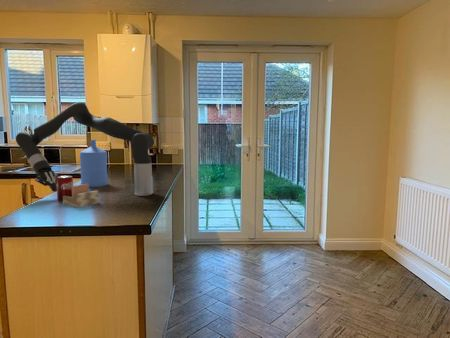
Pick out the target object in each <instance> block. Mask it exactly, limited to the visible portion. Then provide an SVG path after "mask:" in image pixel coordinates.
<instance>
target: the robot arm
mask: <svg viewBox="0 0 450 338" xmlns="http://www.w3.org/2000/svg"><path fill="white" fill-rule="evenodd" d="M71 118H73V120H74V121H75V123H78V124H80V125H83V126H86V127H89V128H92V129H94V130H96V131H98V132H101V133H103V134H105V135H107V136H109V137H111V138H116V139H119V140H124V141H128V142H130V143H131V155H132V156H131V157H132V159H133V172H134V173H133V174H134V175H133V176H134V195H135V196H141V197H143V196H144V197H145V196H146V197H147V196H151V195H153V194H154V176H153V173H152V172H153V170H152V167H153V166H152V165H153V162H152V157H151V156H150V155H149V150H150V149H152V148H153V147H154V145H155V140H154V137H153V136H152V135H151V134H149V133H147V132H145V131H141V130H138V129H135V128H132V127H130V126H129V125H126V124H125V123H122V122H120V121H119V120H116V119H114V118H112V117H98V116H95V115H94V114H92V113H91V112H90V110H89V108H88V107H87V105H86V103H85V102H82V101H77V102H73V103H72V104H70V105H69V106H67V107H66V108H65V109H64V110H62V111H60V113H59V114H57V115H55V116H54V117H53V118H51V119H50V120H48V121H46V122H44V123H42V124H40V125H39V126H37V127H35V128H34V129H33V134H32V135H31V134H30V133H28V132H26V131H25V132H24V131H21V132H18V133H17V134H16V136H15V141H16V142H15V143H17V145H18V146H19V148H20V149H21V150H22V152H23V153H24V155H25V157H26V158H27V160H28V162H29V165H30V167H31V168H32V169H33V171H34V173H35V175H36V177H35V179H34V182H37V183H38V184H40V185H42V186H45V187H47V186H48V187H49V188H50V189H51V191H52V192H54V193H55V192H57V184H56V178H57V177H58V176H61V173H55V171H54V170H52V169H53V168H52V166H51V164H50V163H49V161H48V160H47V159H46V156H44V155H43V153H42V151H41V150H40V149H39V147H37V146H38V145H39V144H40V143H41V142H42V141H44V140H45V139H47V138H49V137H51V136H53V135H54V134H56V133H57V132H58V131H59V129H60V128H61V127H62V126H63V124H64V123H65V122H66V121H68V120H69V119H71Z"/></svg>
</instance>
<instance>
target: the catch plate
mask: <svg viewBox="0 0 450 338" xmlns="http://www.w3.org/2000/svg"><path fill="white" fill-rule="evenodd" d="M86 192H90V187H89V184H82V185H81V184H77V185H73V186H72V197H75V198H77V194H81V193H86Z"/></svg>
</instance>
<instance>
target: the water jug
mask: <svg viewBox="0 0 450 338" xmlns="http://www.w3.org/2000/svg"><path fill="white" fill-rule="evenodd" d="M96 141H97V140H96V139H91V140H90V146H89V147H87V148H85V149H84V150H81V151H80V152H79V160H80V162H79V164H80V185H82V184H89V188H101V187H106V186H107V185H108V184H109V177H108V176H109V175H108V166H107V165H108V164H107V163H108V151H106V150H104V149H102V148H100V147H97V142H96Z"/></svg>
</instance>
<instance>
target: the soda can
mask: <svg viewBox="0 0 450 338" xmlns="http://www.w3.org/2000/svg"><path fill="white" fill-rule="evenodd" d="M56 185H57V191H56V200H57V201H58V202H59V203H63V196H69V197H72V186H74V177H73V176H72V175H60V176H58V177H57V178H56Z"/></svg>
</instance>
